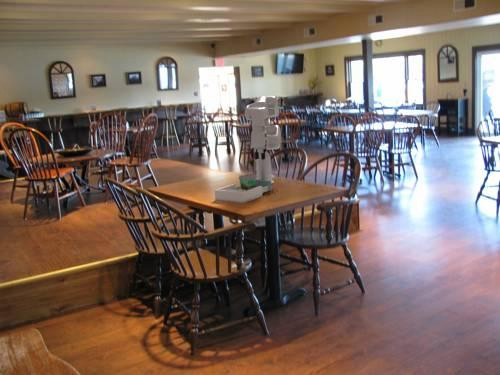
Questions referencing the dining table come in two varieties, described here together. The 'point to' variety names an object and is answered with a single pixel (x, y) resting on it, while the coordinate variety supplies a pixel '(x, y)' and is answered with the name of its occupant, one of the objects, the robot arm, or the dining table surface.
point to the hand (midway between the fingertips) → (260, 158)
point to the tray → (264, 183)
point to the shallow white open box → (237, 194)
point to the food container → (248, 181)
